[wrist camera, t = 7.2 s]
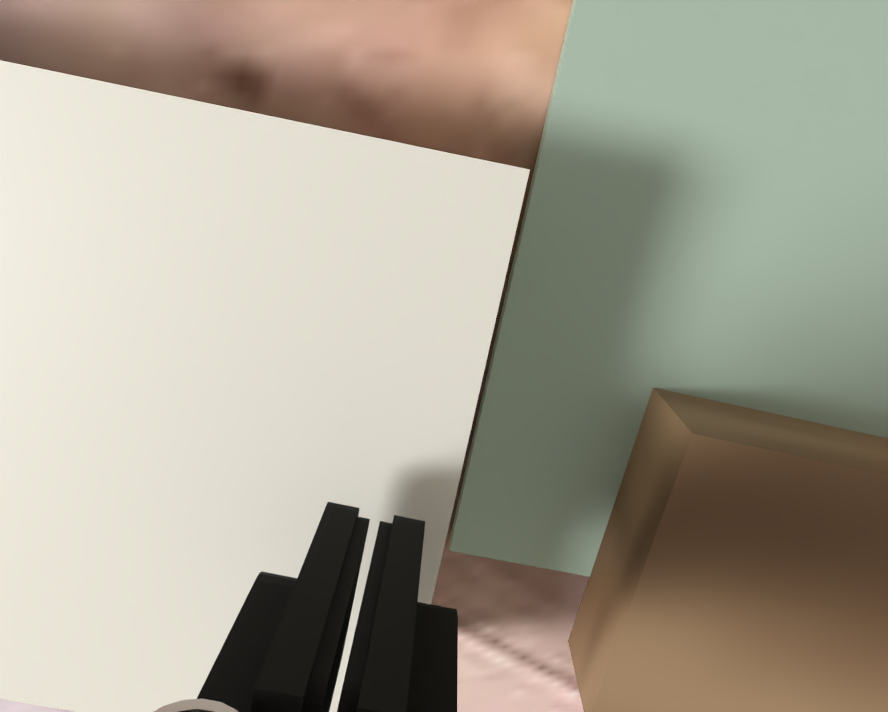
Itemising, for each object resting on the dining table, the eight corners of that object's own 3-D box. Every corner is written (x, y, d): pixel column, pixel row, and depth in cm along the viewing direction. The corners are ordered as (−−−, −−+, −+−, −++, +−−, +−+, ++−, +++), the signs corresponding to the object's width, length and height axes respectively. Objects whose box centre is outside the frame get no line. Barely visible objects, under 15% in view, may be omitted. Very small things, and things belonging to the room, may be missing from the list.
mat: (625, -227, 11) (634, -248, 11) (1126, -113, 12) (1161, -127, 11) (449, 536, 16) (449, 551, 15) (812, 604, 16) (825, 620, 16)
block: (1049, 509, 12) (951, 452, 14) (692, 433, 12) (653, 387, 14) (894, 784, 14) (831, 693, 16) (587, 724, 14) (568, 641, 16)
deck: (-263, 8, 13) (-567, -57, 9) (510, 167, 13) (529, 169, 10) (-203, 519, 16) (-405, 628, 13) (409, 630, 17) (394, 767, 13)
